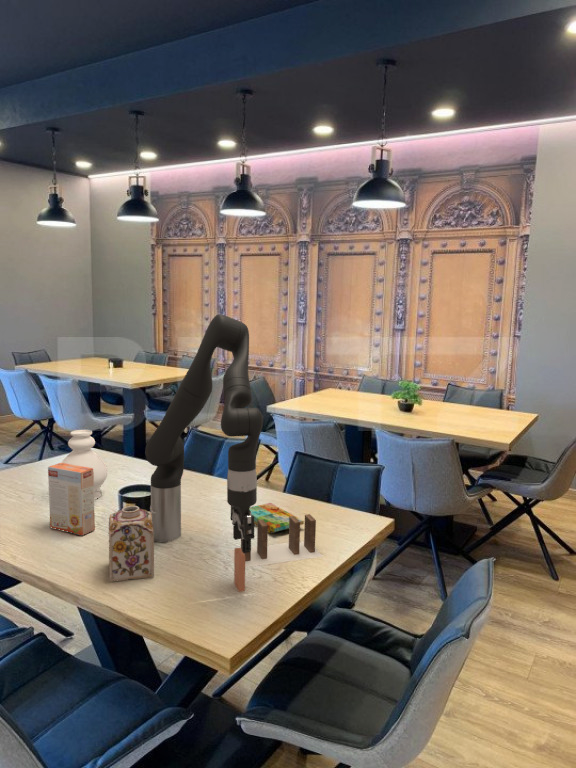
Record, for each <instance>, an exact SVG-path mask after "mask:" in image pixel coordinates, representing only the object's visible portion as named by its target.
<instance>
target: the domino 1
mask: <svg viewBox="0 0 576 768" xmlns="http://www.w3.org/2000/svg"><path fill="white" fill-rule="evenodd" d="M233 550H234V561H233V563H234V565H233V570H234V571H233V572H234V573H233V578H234V579H233V583H234V586H235V587H236V590H237V591H238V592H239V593H240V592H245V591H246V567H245V554H244V553H243V552H242V549H241V547H235V548H234V549H233Z"/></svg>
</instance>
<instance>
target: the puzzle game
mask: <svg viewBox="0 0 576 768" xmlns="http://www.w3.org/2000/svg"><path fill="white" fill-rule="evenodd" d="M249 509H250V511H251V514H252V515H254V526H256V527H257V526H258V520H261V519H263V520H264V522H265V523H266V524H267V525H268V533H269V534H273V533H277V532H279V531H284V530H289V516H295V515H293V514H292V513H290V512H288V511H286V509H285V510H284V509H283V508H281V507H280V506H277V505H276V504H274V503H272V502H268V503H263V504H258V505H253V506H251V507H250V508H249ZM295 517H296V518H297V519H298V520H299V521H300V526H302V525H305V520H303V519H301V518H299V517H297V516H295Z"/></svg>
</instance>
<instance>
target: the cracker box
mask: <svg viewBox="0 0 576 768" xmlns="http://www.w3.org/2000/svg"><path fill="white" fill-rule="evenodd" d="M47 475H48V503H49V504H48V505H49V528H50V527H52V528H56V529H60V530H64V531H68V532H72V533H75V534H74V535H76V534H79V535H78V536H80V535H83V536H85V535H87V534H90V533H92V532H94V531H95V530H96V526H95V522H96V521H95V518H96V517H95V500H94V477H93V468H88V467H82V466H77V465H71V464H66V463H62V462H59V463H56V464H54V465H52V464H51V465H50V466H47ZM56 529H55V530H56ZM60 530H59V531H60ZM93 530H94V531H93ZM64 531H63V532H64ZM91 531H92V532H91ZM68 532H67V533H68ZM89 532H90V533H89ZM72 533H71V534H72ZM84 534H85V535H84Z"/></svg>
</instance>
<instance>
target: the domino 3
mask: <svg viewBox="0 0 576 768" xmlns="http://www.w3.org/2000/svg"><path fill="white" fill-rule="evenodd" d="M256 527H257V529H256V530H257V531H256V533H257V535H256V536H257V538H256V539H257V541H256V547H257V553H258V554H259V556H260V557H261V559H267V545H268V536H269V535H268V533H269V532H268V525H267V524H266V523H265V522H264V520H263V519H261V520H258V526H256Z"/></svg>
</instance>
